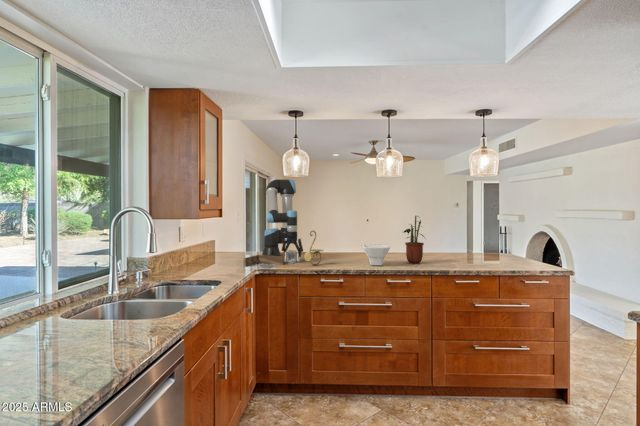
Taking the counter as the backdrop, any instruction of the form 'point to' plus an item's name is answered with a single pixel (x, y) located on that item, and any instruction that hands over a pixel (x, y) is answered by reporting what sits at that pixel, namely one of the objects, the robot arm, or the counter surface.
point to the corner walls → (264, 260)
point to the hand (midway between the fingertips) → (292, 260)
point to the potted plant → (414, 246)
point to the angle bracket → (291, 257)
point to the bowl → (376, 253)
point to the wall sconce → (308, 254)
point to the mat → (266, 266)
